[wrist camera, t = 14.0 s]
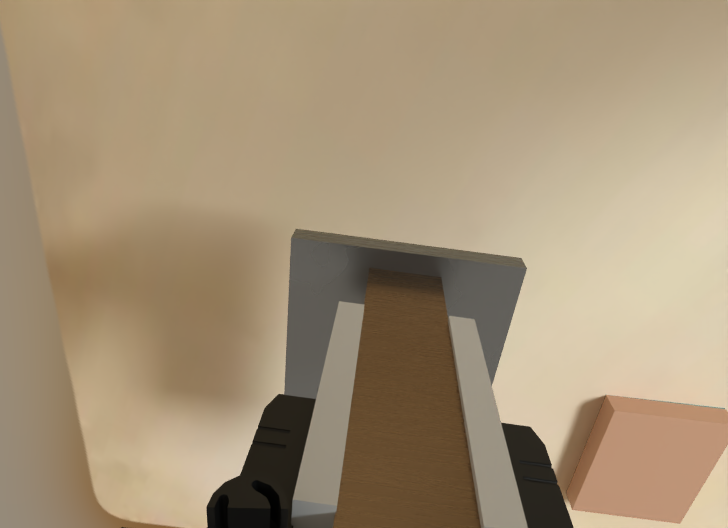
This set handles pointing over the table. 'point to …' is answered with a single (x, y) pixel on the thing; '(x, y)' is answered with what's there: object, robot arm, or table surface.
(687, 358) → the table surface
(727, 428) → the tile
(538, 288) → the table surface
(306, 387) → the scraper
